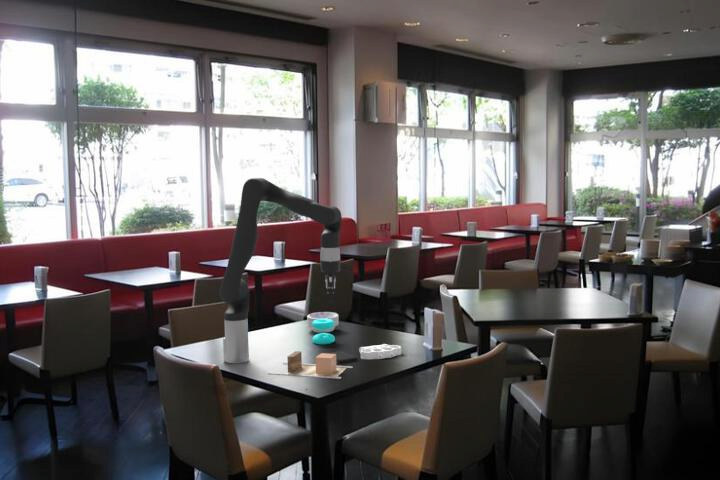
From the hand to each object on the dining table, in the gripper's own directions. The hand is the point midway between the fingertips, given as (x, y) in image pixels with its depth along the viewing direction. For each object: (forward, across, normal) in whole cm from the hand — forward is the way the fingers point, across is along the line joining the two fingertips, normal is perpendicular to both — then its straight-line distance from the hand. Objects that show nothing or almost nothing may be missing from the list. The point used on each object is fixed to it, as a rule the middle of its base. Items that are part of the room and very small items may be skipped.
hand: (330, 301), depth 250 cm
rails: (+26, +7, -8) cm, 28 cm away
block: (+25, +9, -2) cm, 26 cm away
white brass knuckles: (+26, -17, +20) cm, 37 cm away
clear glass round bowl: (+27, -65, -3) cm, 71 cm away
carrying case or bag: (+27, -8, +4) cm, 28 cm away
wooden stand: (+26, +8, -6) cm, 28 cm away
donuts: (+27, -42, -3) cm, 50 cm away
